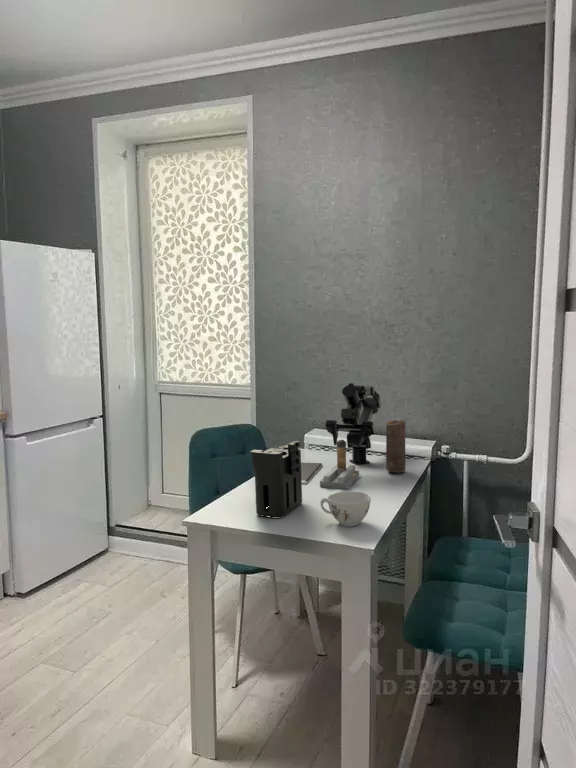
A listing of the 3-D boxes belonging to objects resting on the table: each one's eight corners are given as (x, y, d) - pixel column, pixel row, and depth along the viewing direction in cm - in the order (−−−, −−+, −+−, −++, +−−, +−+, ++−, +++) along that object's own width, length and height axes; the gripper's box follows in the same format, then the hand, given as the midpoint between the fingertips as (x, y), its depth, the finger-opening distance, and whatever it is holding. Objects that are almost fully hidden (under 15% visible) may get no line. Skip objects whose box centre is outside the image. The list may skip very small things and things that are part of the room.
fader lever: (338, 472, 217) (337, 438, 215) (347, 472, 216) (347, 438, 214) (335, 474, 214) (335, 440, 212) (345, 475, 212) (344, 440, 211)
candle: (407, 474, 218) (406, 422, 216) (387, 475, 218) (387, 423, 216) (403, 469, 226) (403, 418, 223) (384, 470, 226) (384, 419, 223)
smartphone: (271, 484, 214) (271, 480, 214) (291, 465, 239) (291, 461, 239) (306, 486, 210) (306, 481, 210) (322, 466, 236) (322, 462, 236)
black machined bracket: (252, 517, 178) (249, 446, 175) (281, 497, 196) (279, 433, 194) (286, 521, 173) (284, 449, 170) (313, 501, 191) (312, 435, 189)
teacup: (375, 518, 173) (375, 492, 172) (365, 533, 162) (364, 505, 161) (327, 513, 179) (327, 488, 178) (314, 527, 167) (313, 500, 166)
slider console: (333, 474, 222) (333, 463, 222) (359, 475, 219) (359, 465, 218) (319, 486, 207) (319, 475, 206) (347, 488, 203) (346, 477, 202)
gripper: (325, 399, 226) (317, 433, 217) (373, 400, 219) (366, 435, 211) (332, 415, 234) (324, 448, 226) (377, 417, 228) (371, 451, 219)
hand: (346, 445), depth 220 cm, fingers open, 9 cm apart
